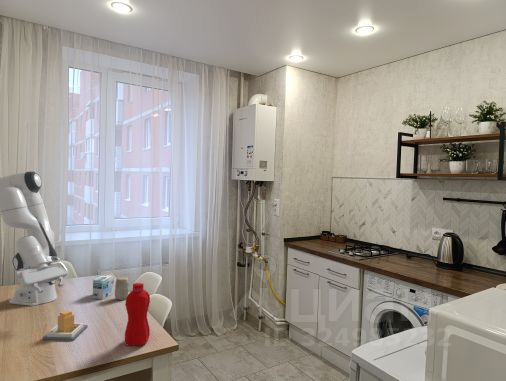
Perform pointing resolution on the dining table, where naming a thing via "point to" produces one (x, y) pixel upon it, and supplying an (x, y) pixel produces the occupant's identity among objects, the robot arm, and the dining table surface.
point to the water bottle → (137, 316)
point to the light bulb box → (103, 286)
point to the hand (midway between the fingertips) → (51, 289)
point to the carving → (121, 288)
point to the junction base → (70, 336)
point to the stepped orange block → (66, 322)
